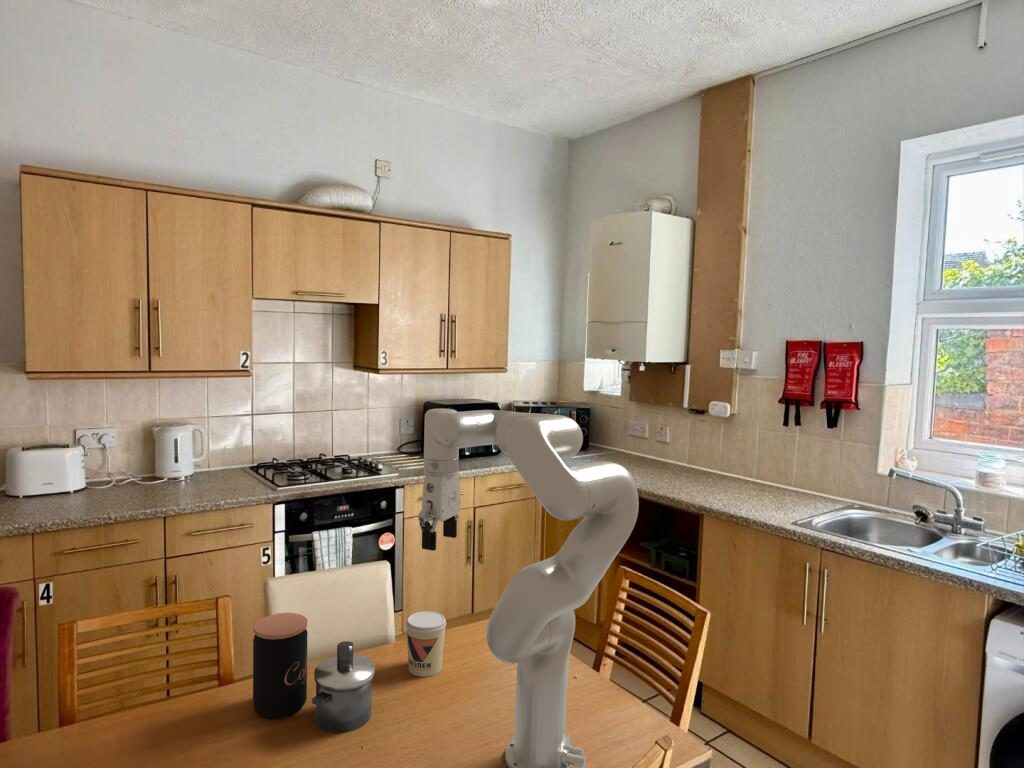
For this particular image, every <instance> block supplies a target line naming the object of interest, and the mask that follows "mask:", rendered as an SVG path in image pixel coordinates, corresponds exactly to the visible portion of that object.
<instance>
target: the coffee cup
mask: <svg viewBox="0 0 1024 768" xmlns="http://www.w3.org/2000/svg"><path fill="white" fill-rule="evenodd" d="M405 625H406V637H407V638H406V640H407V659H408V660H407V661H408V671H409V672H410V673H411V675H413V676H416V677H426V678H427V677H431V676H435V675H437V674H438V673H440V672H441V669H442V666H443V658H444V657H443V656H444V647H445V636H446V626H447V620H446V618H445V616H444V615H443V614H442V613H440V612H436V611H430V610H429V611H427V610H426V611H418V612H415V613H413V614H411V615H409V616H408V618H407V620H406V622H405Z"/></svg>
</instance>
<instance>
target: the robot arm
mask: <svg viewBox="0 0 1024 768" xmlns="http://www.w3.org/2000/svg"><path fill="white" fill-rule="evenodd" d="M423 429H424V434H423V435H424V437H423V440H424V441H423V444H424V445H423V474H424V476H423V477H424V478H423V487H422V497H421V510H420V511H419V513H418V516H417V518H418V520H419V527H420V531H421V549H422V550H426V551H436V550H437V531H436V528H437V525H438V523H439V522H440V523H441V522H442V523H443V525H442V533H443V534H442V535H443V537H445V538H453V539H455V538H457V536H458V519H459V515H458V514H459V512H460V511H461V483H460V481H461V480H460V472H459V463H460V461H459V459H460V457H459V455H460V454H459V452H460V449H466V448H473V447H480V446H491V445H492V446H493V445H494V446H497V447H498V448H499V450H500V451H501V452H502V453H503V454H504V455H506V456H508V457H509V459H510V461H511V463H513V465H514V467H515V469H516V470H517V471H518V474H519V475H520V476H521V478H522V479H523V481H524V482H525V483H526V484H527V486H528V488H529V489H530V490H531V492H532V494H533V495H534V496H535V498H536V499H537V501H538V502H539V503H540V505H541V506H542V507H543V508H544V510H545V512H547V513H549V515H550V516H552V517H554V518H555V519H557V520H561V521H573V520H574V521H575V520H578V519H581V518H583V519H582V520H581V521H580V522H579V523H578V524H576V526H575V527H574V528H573V529H572V530H571V532H570V533H569V534H568V537H567V539H566V540H565V542H564V543H563V545H562V546H561V548H559V550H558V551H557V553H556V554H554V555H552V556H550V557H548V558H546V559H543V560H541V561H537V562H534V563H531V564H529V565H526V566H525V567H522V568H521V569H519V571H517V572H516V573H515V574H514V575H513V576H512V578H511V579H510V581H509V583H508V584H507V586H506V588H505V589H504V591H503V592H502V594H501V597H500V598H499V600H498V601H497V603H496V605H495V607H494V608H493V610H492V612H491V613H490V616H489V619H488V622H487V625H486V632H485V633H486V642H487V646H488V649H489V651H490V653H491V654H492V655H493V657H495V658H496V659H497V661H500V662H503V663H505V664H510V665H511V664H512V665H513V664H517V665H516V679H515V680H516V683H515V707H514V731H513V732H514V733H513V734H514V735H513V736H514V737H513V739H512V740H511V741H510V742H509V743H508V744H507V746H506V747H505V752H504V753H505V755H504V759H505V764H506V765H507V767H508V768H572V766H574V767H577V768H586V764H587V757H586V756H583V755H584V752H585V751H584V748H581V747H577V746H574V745H572V744H571V743H570V739H571V737H570V734H566V722H567V702H568V701H567V699H568V698H567V695H568V681H569V680H568V679H569V663H570V662H569V661H570V654H571V650H572V644H573V641H574V635H575V631H576V614H575V611H574V610H576V609H579V608H580V607H581V606H583V605H584V604H585V603H587V601H589V599H590V597H591V596H592V594H593V592H594V590H595V589H596V588H597V587H598V585H599V583H600V581H601V580H602V579H603V577H604V576H605V574H606V573H607V571H608V569H609V568H610V566H611V565H612V563H613V561H614V560H615V558H616V557H617V555H618V554H619V553H620V551H621V549H622V548H623V547H624V545H625V544H626V542H627V540H628V539H629V537H630V536H631V534H632V532H633V530H634V528H635V525H636V523H637V519H638V515H639V506H640V505H639V504H640V503H639V502H640V501H639V493H638V489H637V484H636V482H635V480H634V479H633V476H632V474H631V473H630V471H628V470H627V469H626V467H624V466H623V465H620V464H619V463H616V462H612V461H592V462H589V463H581V464H577V465H572V466H567V464H565V463H564V462H565V461H568V460H570V459H572V458H574V456H576V455H577V454H578V453H579V451H580V450H581V448H582V445H583V441H584V436H583V432H582V431H583V430H582V429H581V427H580V425H579V424H578V423H577V421H575V420H574V419H572V418H571V417H568V416H566V415H560V414H553V413H551V414H550V413H536V412H535V413H533V412H532V413H531V412H520V411H519V412H518V411H511V410H498V409H497V410H496V409H481V410H479V409H478V410H466V411H457V410H455V409H453V408H443V407H442V408H432V409H428V410H427V411H426V412H425V414H424V428H423ZM430 522H431V523H430Z"/></svg>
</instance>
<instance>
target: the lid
mask: <svg viewBox="0 0 1024 768" xmlns="http://www.w3.org/2000/svg"><path fill="white" fill-rule="evenodd" d="M313 673H314V674H313V675H314V676H313V677H314V678H313V679H314V682H315V684H316V683H317V685H319V686H320V687H322V688H325V689H328V690H337V691H341V690H350V689H354V688H358V687H360V686H363V685H365V684H366V683H368V682H369V681H370V680H371V679H372V680H373V678H374V677H375V674H376V664H375V661H373V660H372V658H369V657H368V656H365V655H363V654H362V655H361V654H355V653H354V643H353V641H345V640H344V641H341V642H338V643H337V645H336V655H334V656H330V657H328V658H326V659H324V660H322V661H320V662H319V663H318V664H317V665H316V667H315V668H314V671H313Z"/></svg>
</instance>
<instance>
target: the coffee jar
mask: <svg viewBox="0 0 1024 768" xmlns="http://www.w3.org/2000/svg"><path fill="white" fill-rule="evenodd" d="M307 627H308V618H307V617H306V616H305V615H302V614H299V613H296V612H280V613H279V612H278V613H273V614H269V615H267V616H264V617H262V618H259V619H258V620H257V621H256V622H255V623H254V624H253V629H252V630H253V632H254V636H253V641H252V653H253V654H252V708H253V710H254V712H255V713H256V714H257V715H258V716H259V717H260V718H261V719H266V720H275V721H277V720H283V719H287V718H290V717H291V716H293V715H295V714H297V713H298V712H300V711H301V710H302V708H303V707H304V705H305V703H307V699H308V698H307V697H308V695H307V694H308V630H307Z"/></svg>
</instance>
